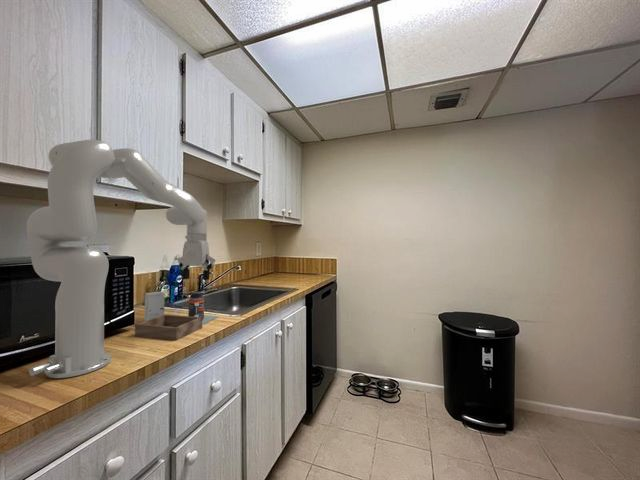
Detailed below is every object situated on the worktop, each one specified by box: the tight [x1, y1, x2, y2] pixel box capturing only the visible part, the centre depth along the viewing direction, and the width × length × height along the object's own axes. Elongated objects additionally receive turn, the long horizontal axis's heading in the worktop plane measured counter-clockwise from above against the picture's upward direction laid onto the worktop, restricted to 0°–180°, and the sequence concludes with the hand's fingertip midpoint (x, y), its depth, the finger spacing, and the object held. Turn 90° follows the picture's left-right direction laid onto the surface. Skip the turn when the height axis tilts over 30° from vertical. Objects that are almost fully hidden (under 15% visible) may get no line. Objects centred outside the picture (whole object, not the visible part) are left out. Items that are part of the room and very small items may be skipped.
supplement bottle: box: [187, 291, 205, 320], centre depth 110 cm, size 6×6×11 cm
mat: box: [202, 315, 219, 326], centre depth 110 cm, size 12×12×1 cm
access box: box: [134, 314, 203, 341], centre depth 96 cm, size 13×17×4 cm
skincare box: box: [144, 291, 165, 321], centre depth 107 cm, size 6×4×12 cm
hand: (196, 279), depth 110 cm, fingers open, 9 cm apart
